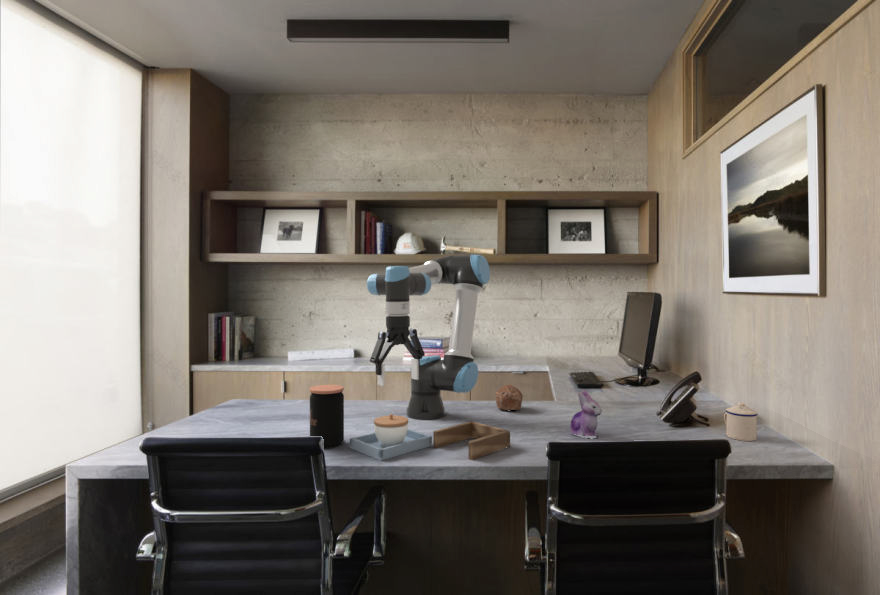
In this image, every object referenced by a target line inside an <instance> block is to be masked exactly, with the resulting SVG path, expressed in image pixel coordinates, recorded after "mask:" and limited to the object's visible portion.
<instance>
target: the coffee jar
mask: <svg viewBox="0 0 880 595" xmlns="http://www.w3.org/2000/svg"><path fill="white" fill-rule="evenodd" d="M344 388H345V387H344V386H343V385H339V384H321V385H320V384H319V385H313V386H311V387H309V392H310V395H309V437H310V436H322V437H323V439H324V448H323V449H332V448H337V447H339V446H342V445H343V444H342V443H343V442H344V440H345V406H344V405H345V400H344V399H345V398H344V397H345V396H344V393H343V391H344Z"/></svg>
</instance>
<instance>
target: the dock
mask: <svg viewBox="0 0 880 595" xmlns="http://www.w3.org/2000/svg"><path fill="white" fill-rule="evenodd" d="M432 435H433V437H432V446H433V448H435V449H438V448H443V447H445V446H448V445H451V444H455V443H458V442H462V441H465V440H469V439H473V440H469V441H468V460H471V461H473V460H476V459H479V458H483V457H486V456H487V454H488V455H491V454H494V453H496V452H495V451H497V452H499V451H498V450H500V451H502V450H501V449H503V448H506V447H509V446H510V447H511V431H510V430H507V429H503V428H500V427H495V426H492V425H488V424H483V423H482V422H481V423H480V422H476V421H472V420H471V421H466V422H463V423H459V424H454V425H451V426H447V427H444V428H443V427H442V428H440V429H436V430H433V434H432ZM474 438H475V439H474ZM510 447H509V448H510ZM506 449H507V448H506ZM503 450H504V449H503ZM493 452H494V453H493ZM490 453H491V454H490Z"/></svg>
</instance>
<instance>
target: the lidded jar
mask: <svg viewBox="0 0 880 595" xmlns="http://www.w3.org/2000/svg"><path fill="white" fill-rule="evenodd" d="M373 427H374V428H373V429H374V432H375V435H376V438H377V440H378V441H379V442H380V443H381V445H382V446H384V447H390V446H393V445H397V444H401V443H402V442H403V441H404V439H405V438H406V435H407V431H408V429H409V418H408V417H405V416H401V415H395V414H394V415H393V413H390V414H389V415H383V416H379V417H375V419H373Z"/></svg>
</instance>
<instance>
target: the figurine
mask: <svg viewBox="0 0 880 595" xmlns="http://www.w3.org/2000/svg"><path fill="white" fill-rule="evenodd" d="M577 395H578V399H579V403H580V407H581V410H579V411H578V412H576V413H575V414H574V415H573V416H572V418H571V422H570V434H571V433H572V434H576V435H582V436H596V435H597V436H598V434H597V432H596V431H597V427H598V419H597V417H599V416H600V415H601V414H602V412H603V409H602V407H601V406H600V404H599V403H598V402H597V401H596V400H594V399H593V397H591V395H590V393H589V392H588V391H587V390H585V389H583V390H582V392H578V393H577ZM572 434H571V435H572Z"/></svg>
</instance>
